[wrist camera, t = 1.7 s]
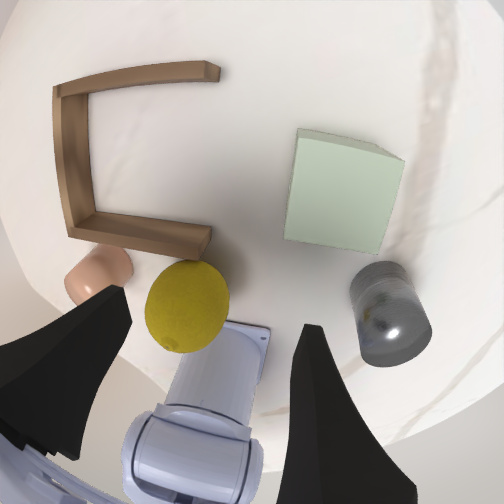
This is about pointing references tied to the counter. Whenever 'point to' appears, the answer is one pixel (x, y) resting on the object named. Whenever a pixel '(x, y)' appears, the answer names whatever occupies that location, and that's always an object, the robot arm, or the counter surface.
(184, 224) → the corral
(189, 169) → the counter surface
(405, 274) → the can
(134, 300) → the counter surface
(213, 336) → the lemon
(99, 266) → the peach rounded cylinder
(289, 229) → the block
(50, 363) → the robot arm
